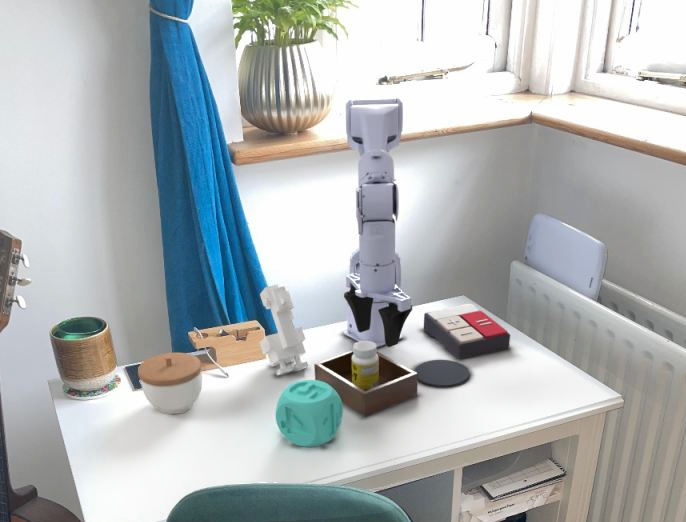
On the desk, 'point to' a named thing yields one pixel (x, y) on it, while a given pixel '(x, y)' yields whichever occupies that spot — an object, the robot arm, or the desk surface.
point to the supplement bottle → (365, 365)
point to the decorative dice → (309, 413)
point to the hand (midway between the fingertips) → (377, 337)
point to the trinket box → (171, 381)
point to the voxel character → (282, 331)
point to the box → (392, 389)
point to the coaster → (442, 373)
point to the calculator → (466, 331)
